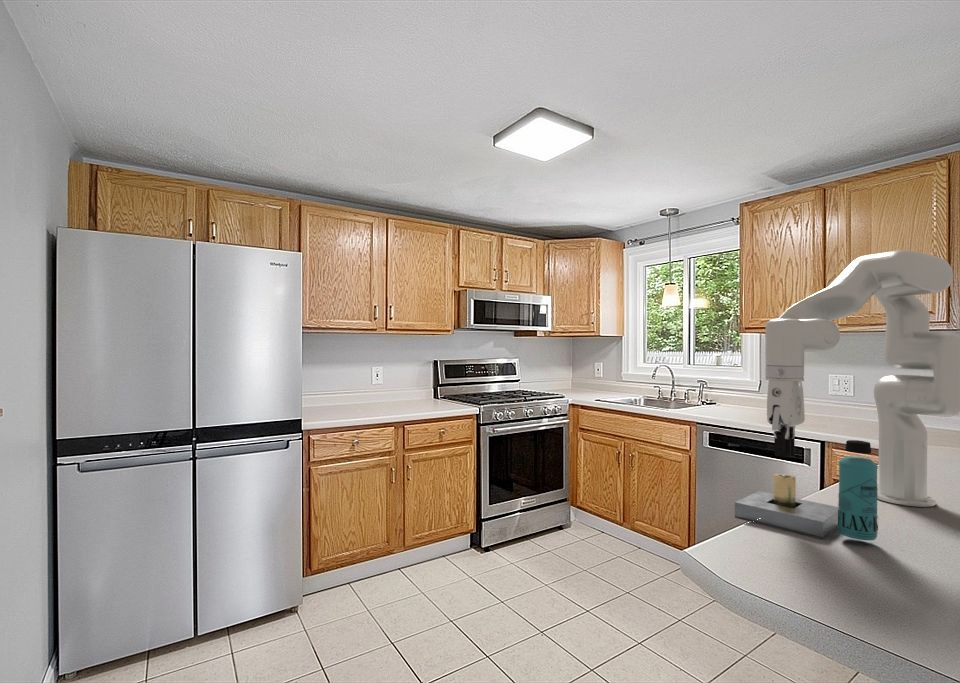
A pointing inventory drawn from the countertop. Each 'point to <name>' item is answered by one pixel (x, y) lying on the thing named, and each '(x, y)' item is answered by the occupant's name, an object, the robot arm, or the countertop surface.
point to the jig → (788, 515)
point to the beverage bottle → (858, 493)
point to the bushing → (785, 490)
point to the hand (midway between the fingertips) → (784, 455)
